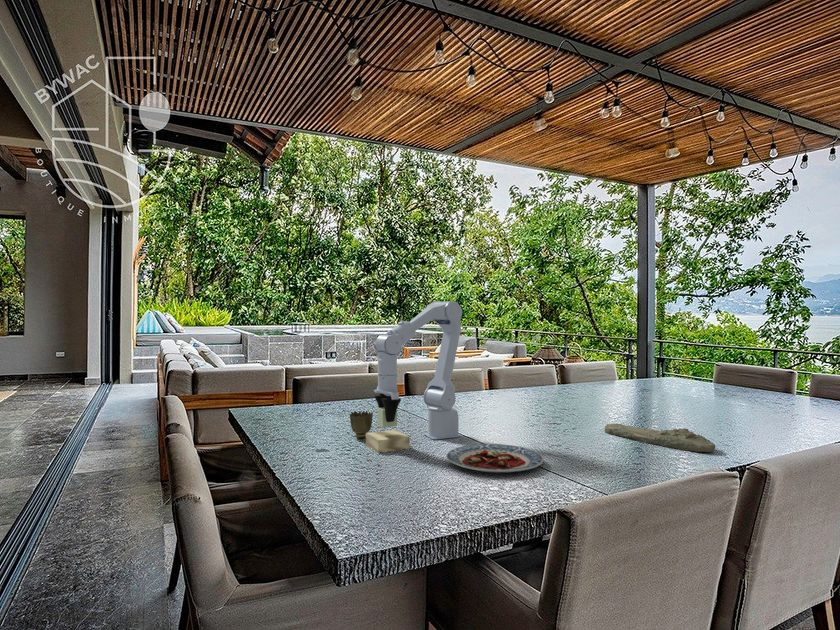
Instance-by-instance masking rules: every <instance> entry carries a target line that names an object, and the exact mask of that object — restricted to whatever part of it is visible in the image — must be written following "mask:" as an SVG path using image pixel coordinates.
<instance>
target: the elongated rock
mask: <svg viewBox="0 0 840 630" xmlns="http://www.w3.org/2000/svg"><path fill="white" fill-rule="evenodd" d="M604 433H605V434H608V435H613V436H618V437H621V438H625V439H626V440H627V439H628V440H633V441H636V442H642V443H646V444H651V445H659V446H662V447H666V448H670V449H677V450H680V451H685V452H690V451H691V452H696V453H697V452H698V453H699V452H702V453H711V452H713V451H715V449H716V444H715V442H713V441H711V440H710V439H707V437H704V436H703V435H701V434H696V433H695V432H693V431H690V430H689V429H688V428H677V429H676V428H673V429H672V430H671V429H664V430H663V429H661V430H655V429H650V428H643V427H642V428H641V427H637V426H631V425H625V424H622V423H617V422H615V423H609V424H606V425H605V426H604Z"/></svg>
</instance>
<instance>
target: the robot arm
mask: <svg viewBox="0 0 840 630" xmlns="http://www.w3.org/2000/svg"><path fill="white" fill-rule="evenodd" d="M462 315H463V310H462V308H461V306H460V304H459V302H458V301H455V300H451V301H450V300H449V301H436V300H435V301H432V302H431V303H430V304H427V305H426V307H425V308H424V309H423V310H422V311H420V313H418V314H417V315H416V316H414V318H412V319H411V320H410V321H408V320H405V321H404V320H403V321H401V320H400V321H399V322H398V323H397V325H396V326H395V327H394V328H392V329H388V330H387V332H386V334H381V335H379V336H378V337H377V338H376V339H375V341H374V343H373V348H374V351H375V352H376V358H377V386H376V389H373V392H374V393H375V395H374V399H375V401H376V403H377V406H378V408H382V407H384V409H385V416H386V421H387V422H394V419H395V414H396V410H397V411H398V407H399V405H400V404H401V401H402V398H400V392H398V353H400V351H401V349H402V346H403V345H404V344H406V343H407V342H409V341H410V340H411V339H413V338H414V337H416V332H417V331H418V330H419V329H420V328H423V326H425V325H427V324H428V323H429V322H432V321H433V322H435V323H436V325H437V326H439V327H440V328H441V330H442V331H443V333H442V339H441V344H440V348H439V352H438V358H437V362H436V367H435V372H434V377H433V379H431V380H430V381H429V382H428V383H427V387H426V389H425V390H424V393H423V401H424V404H425V405H426V408H427V409H428V410H427V413H428V416H427V421H428V423H427V425H428V427H427V429H428V431H427V432H423V435H424V436H427V437H428V438H429V439H432V440H441V439H443V440H444V439H451V438H452V439H454V438H459V437H461V436H460V435H459V413H458V410H457V409H456V408H454V406H455V404H456V390H457V389H456V386H455V385H454V383H452V377H453V371H454V366H455V362H456V356H457V352H458V351H457V350H458V347H459V346H458V345H459V342H460V337H461V336H460V335H461V331H462V330H461V329H462V327H461V325H462V324H461V319H462Z"/></svg>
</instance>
